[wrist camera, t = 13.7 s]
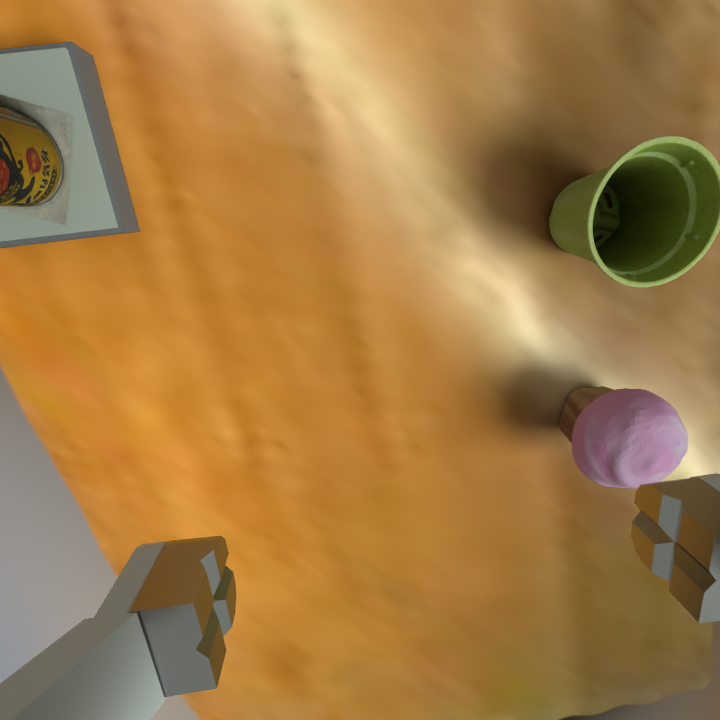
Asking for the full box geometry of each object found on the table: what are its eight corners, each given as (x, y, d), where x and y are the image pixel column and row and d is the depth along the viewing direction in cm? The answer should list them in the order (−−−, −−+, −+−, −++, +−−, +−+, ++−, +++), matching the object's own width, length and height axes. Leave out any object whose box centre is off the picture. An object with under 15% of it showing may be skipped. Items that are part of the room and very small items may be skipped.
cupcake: (534, 448, 43) (592, 512, 34) (544, 367, 41) (610, 412, 31) (619, 443, 44) (699, 505, 34) (634, 363, 41) (726, 406, 32)
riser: (-66, 73, 30) (-107, 58, 27) (92, 56, 30) (68, 39, 28) (-1, 248, 34) (-31, 250, 31) (140, 231, 34) (122, 232, 31)
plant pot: (608, 129, 34) (696, 102, 26) (654, 228, 37) (747, 231, 29) (509, 203, 36) (563, 199, 27) (561, 293, 38) (624, 314, 30)
